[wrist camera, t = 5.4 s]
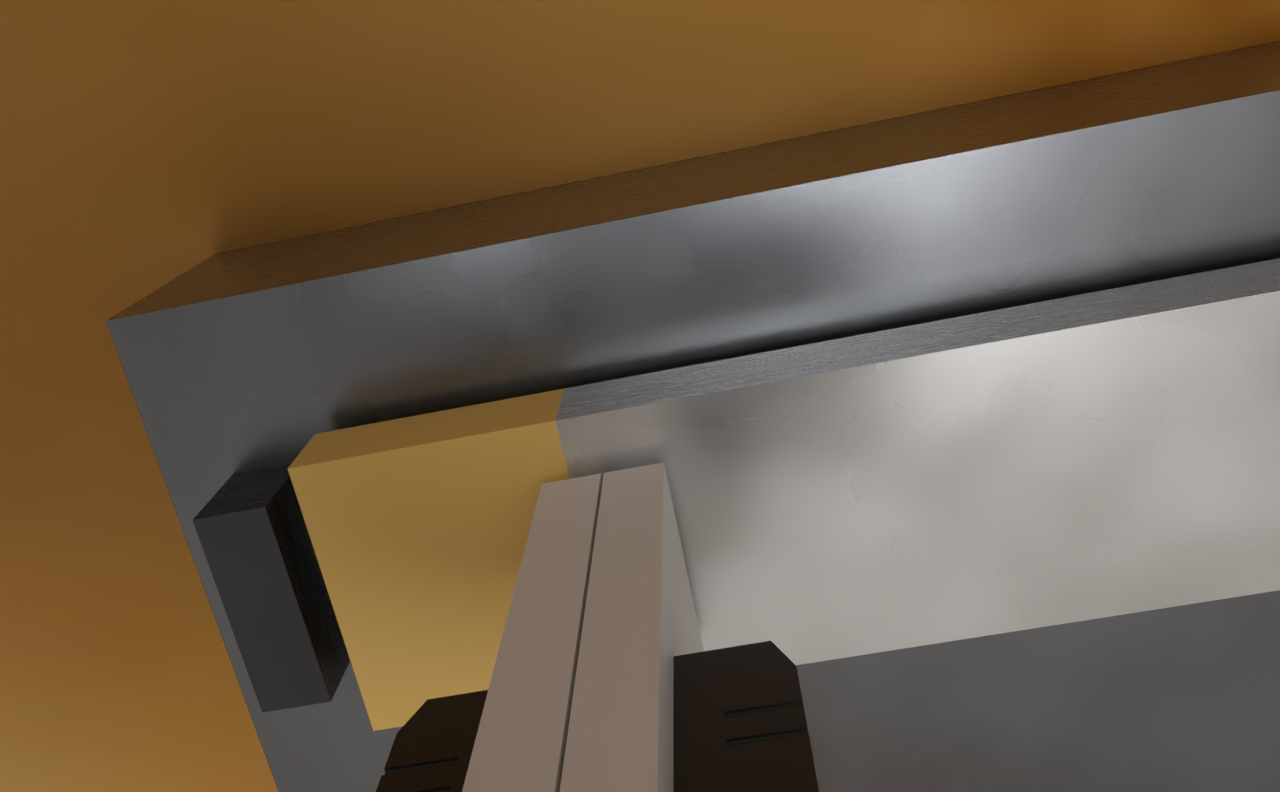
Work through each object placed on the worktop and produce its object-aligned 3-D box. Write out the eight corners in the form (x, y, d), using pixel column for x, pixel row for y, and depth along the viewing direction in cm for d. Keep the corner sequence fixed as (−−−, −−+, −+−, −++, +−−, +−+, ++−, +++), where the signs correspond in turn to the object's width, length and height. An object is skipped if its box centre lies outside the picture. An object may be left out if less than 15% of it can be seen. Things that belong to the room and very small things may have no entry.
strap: (1651, 184, 15) (1762, 210, 13) (1628, 476, 16) (1727, 530, 14) (319, 428, 16) (281, 474, 15) (396, 673, 18) (369, 739, 16)
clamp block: (213, 254, 20) (4, 383, 14) (1595, -23, 18) (2088, -18, 12) (497, 1117, 26) (443, 1470, 20) (1533, 988, 24) (1827, 1337, 18)
